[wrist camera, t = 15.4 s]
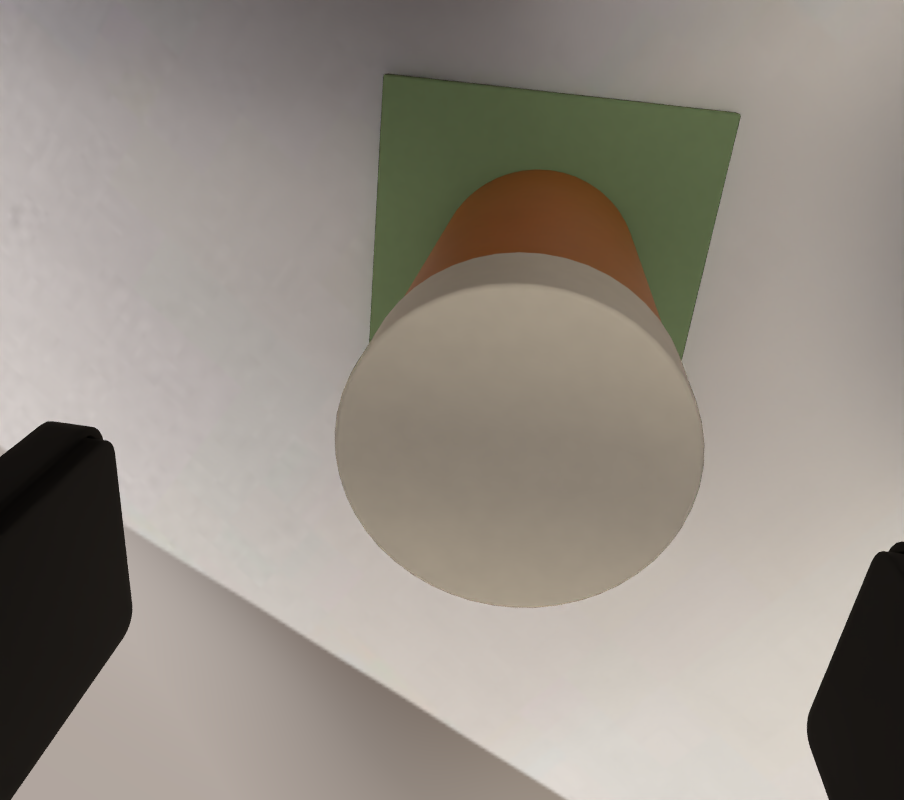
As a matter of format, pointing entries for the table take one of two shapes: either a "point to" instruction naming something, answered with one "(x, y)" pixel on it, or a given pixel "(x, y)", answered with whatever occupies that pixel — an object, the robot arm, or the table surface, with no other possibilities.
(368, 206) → the table surface
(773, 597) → the table surface
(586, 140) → the mat
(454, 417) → the medicine bottle
